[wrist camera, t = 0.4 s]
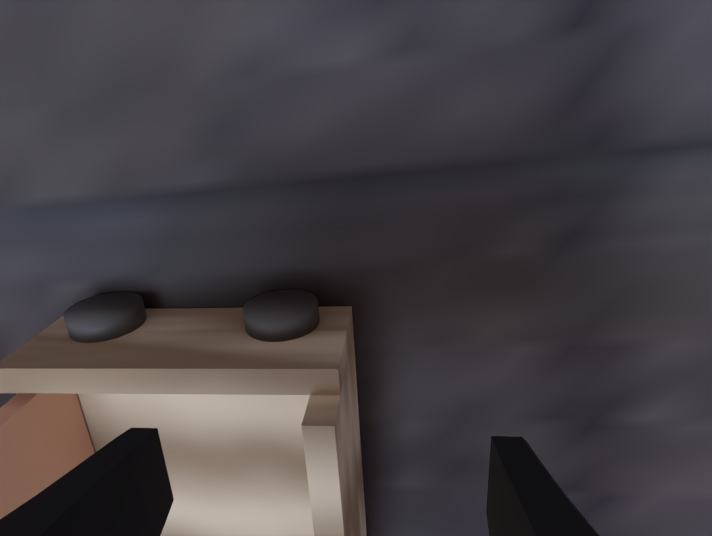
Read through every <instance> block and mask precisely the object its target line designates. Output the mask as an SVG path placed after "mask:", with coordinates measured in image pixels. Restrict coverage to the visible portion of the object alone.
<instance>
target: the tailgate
mask: <svg viewBox="0 0 712 536" xmlns="http://www.w3.org/2000/svg"><path fill="white" fill-rule="evenodd" d="M94 453H95V452H94V449H93V446H92V443H91V440H90V436H89V433H88V430H87V427H86V424H85V420H84V417H83V414H82V411H81V408H80V405H79V401H78V398H77V395H76V394H67V393H18V394H16V395H15V396H14V397H13V398H12V399H10V400H9V401H8V402H7V403H6V404H4V405H3V406H2V407H1V408H0V519H2V518H3V517H5V516H6V515H8V514H9V513H11V512H12V511H13V510H15V509H16V508H18V507H19V506H21V505H22V504H24V503H25V502H27V501H28V500H30V499H31V498H33V497H34V496H36V495H37V494H38V493H40V492H41V491H43V490H44V489H45V488H47V487H48V486H50V485H51V484H52V483H54V482H55V481H57V480H58V479H59V478H61V477H62V476H64V475H65V474H66V473H68V472H69V471H71V470H72V469H73V468H75V467H76V466H77V465H79V464H80V463H82V462H83V461H84V460H86V459H87V458H88V457H90V456H91V455H93V454H94Z"/></svg>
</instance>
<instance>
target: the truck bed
mask: <svg viewBox="0 0 712 536" xmlns="http://www.w3.org/2000/svg"><path fill="white" fill-rule="evenodd" d="M0 393H67V394H76V395H77V398H78V401H79V405H80V408H81V411H82V414H83V417H84V420H85V424H86V427H87V430H88V433H89V436H90V440H91V443H92V446H93V449H94V452H97V451H98V450H99V449H101V448H102V447H104V446H105V445H106V444H108V443H109V442H111V441H112V440H113V439H115V438H116V437H118V436H119V435H121V434H122V433H124V432H125V431H127V430H128V429H130V428H157V429H158V433H159V437H160V442H161V446H162V450H163V455H164V459H165V463H166V467H167V472H168V476H169V480H170V485H171V489H172V493H173V498H174V501H173V503H172V506H171V509H170V512H169V514H168V517H167V520H166V523H165V525H164V528H163V530H162V533H161V535H160V536H367V532H366V517H365V502H364V486H363V471H362V455H361V440H360V425H359V409H358V394H357V379H356V363H355V348H354V333H353V317H352V306H337V307H318V299H317V297H316V296H315V295H314V294H312V293H310V292H307V291H304V290H298V289H281V290H274V291H269V292H265V293H262V294H260V295H257V296H255V297H253V298H251V299H250V300H248V301H247V302H246V303H245V304H244V306H243V308H166V309H145V307H144V303H143V298H142V296H141V295H139V294H137V293H134V292H112V293H106V294H101V295H97V296H94V297H90V298H87V299H85V300H82V301H80V302H78V303H76V304H74V305H73V306H71V307H70V308H68V309H67V310H66V311H65V313H64V315H63V316H62V317H61V318H59V319H58V320H57V321H55V322H54V323H52V324H51V325H50V326H48V327H47V328H45V329H44V330H43V331H41V332H40V333H39V334H37V335H36V336H34V337H33V338H32V339H30V340H29V341H27V342H26V343H25V344H23V345H22V346H21V347H19V348H18V349H16V350H15V351H14V352H12V353H11V354H9V355H8V356H7V357H5V358H4V359H3V360H1V361H0Z"/></svg>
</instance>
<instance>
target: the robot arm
mask: <svg viewBox="0 0 712 536" xmlns="http://www.w3.org/2000/svg"><path fill="white" fill-rule="evenodd" d="M173 501H174V498H173V493H172V489H171V485H170V480H169V476H168V472H167V467H166V463H165V459H164V455H163V450H162V446H161V442H160V437H159V433H158V429H157V428H130V429H128V430H127V431H125V432H124V433H122V434H121V435H119V436H118V437H116V438H115V439H113V440H112V441H111V442H109V443H108V444H106V445H105V446H104V447H102V448H101V449H99V450H98V451H97V452H95V453H94V454H93V455H91V456H90V457H88V458H87V459H86V460H84V461H83V462H82V463H80V464H79V465H77V466H76V467H75V468H73V469H72V470H71V471H69V472H68V473H66V474H65V475H64V476H62V477H61V478H59V479H58V480H57V481H55V482H54V483H52V484H51V485H50V486H48V487H47V488H45V489H44V490H43V491H41V492H40V493H38V494H37V495H36V496H34V497H33V498H31V499H30V500H28V501H27V502H25V503H24V504H22V505H21V506H19V507H18V508H16V509H15V510H13V511H12V512H11V513H9V514H8V515H6V516H5V517H3V518H2V519H0V536H160V535H161V533H162V530H163V528H164V525H165V523H166V520H167V517H168V514H169V512H170V509H171V506H172V503H173ZM486 513H487V520H488V528H489V535H490V536H599V535H598V534H597V532H596V531H595V530H594V529H593V528H592V526H591V525H590V524H589V523H588V522H587V520H586V519H585V518H584V517H583V516H582V514H581V513H580V512H579V511H578V509H577V508H576V507H575V506H574V505H573V503H572V502H571V501H570V500H569V498H568V497H567V496H566V495H565V493H564V492H563V491H562V489H561V488H560V487H559V485H558V484H557V483H556V482H555V480H554V479H553V478H552V476H551V475H550V474H549V472H548V471H547V470H546V468H545V467H544V465H543V464H542V463H541V461H540V460H539V459H538V457H537V456H536V454H535V453H534V451H533V450H532V449H531V447H530V446H529V444H528V443H527V442H526V441H525V440H524V439H523V438H522V437H500V436H491V450H490V465H489V480H488V495H487V510H486Z"/></svg>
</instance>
